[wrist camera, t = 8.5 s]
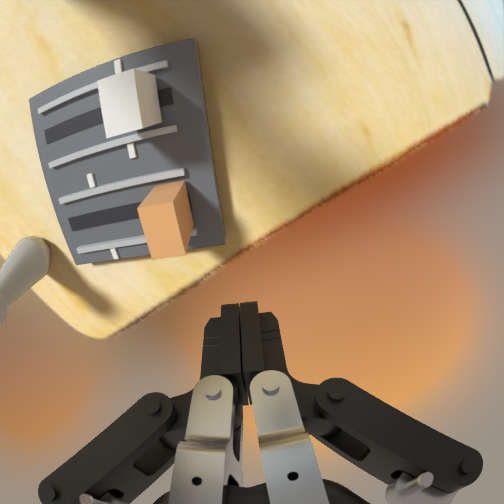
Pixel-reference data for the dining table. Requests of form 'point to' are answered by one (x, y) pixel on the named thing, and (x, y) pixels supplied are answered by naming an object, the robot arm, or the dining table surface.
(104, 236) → the console
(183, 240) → the block
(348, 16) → the dining table surface
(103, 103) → the fader
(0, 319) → the salt shaker
